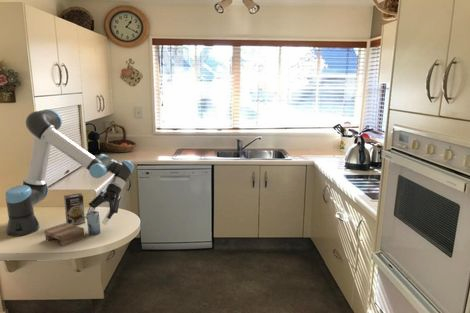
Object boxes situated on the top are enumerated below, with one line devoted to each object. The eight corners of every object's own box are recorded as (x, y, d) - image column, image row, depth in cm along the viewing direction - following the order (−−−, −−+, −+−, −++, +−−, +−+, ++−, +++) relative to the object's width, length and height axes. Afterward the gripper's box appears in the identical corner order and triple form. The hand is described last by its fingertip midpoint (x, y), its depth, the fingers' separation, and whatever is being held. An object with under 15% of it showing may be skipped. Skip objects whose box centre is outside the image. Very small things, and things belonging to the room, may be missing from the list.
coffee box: (68, 226, 196) (65, 198, 193) (66, 222, 201) (63, 195, 198) (85, 222, 201) (83, 195, 198) (83, 219, 206) (80, 192, 203)
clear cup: (85, 233, 186) (83, 214, 184) (95, 229, 191) (93, 210, 189) (93, 236, 183) (91, 216, 181) (103, 232, 188) (101, 212, 186)
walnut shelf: (45, 240, 179) (44, 230, 178) (67, 231, 189) (66, 222, 188) (63, 246, 172) (61, 236, 171) (84, 237, 182) (83, 228, 181)
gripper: (135, 193, 192) (116, 229, 182) (104, 186, 204) (84, 219, 195) (127, 186, 186) (106, 222, 177) (96, 179, 199) (74, 213, 189)
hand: (95, 221), depth 186 cm, fingers open, 13 cm apart
